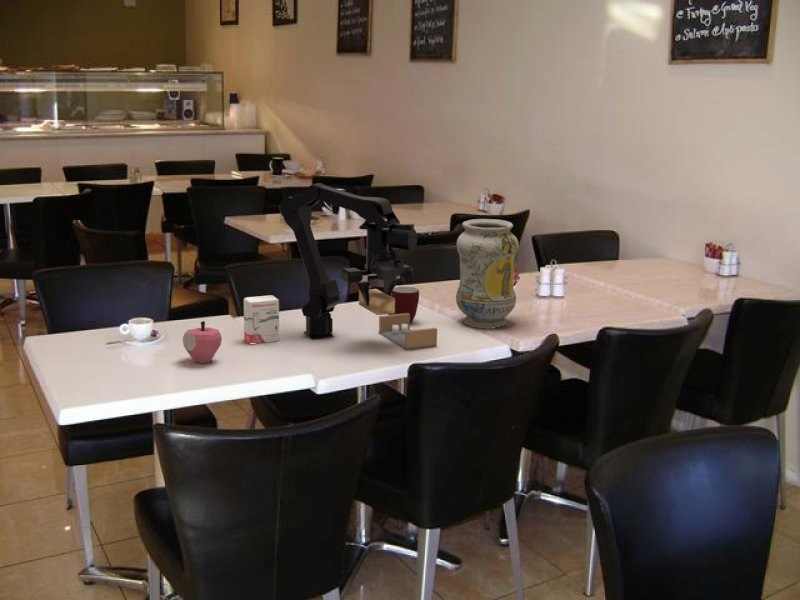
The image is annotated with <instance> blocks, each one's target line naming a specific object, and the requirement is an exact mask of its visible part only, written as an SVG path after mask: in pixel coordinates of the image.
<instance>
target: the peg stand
mask: <svg viewBox="0 0 800 600" xmlns="http://www.w3.org/2000/svg"><path fill="white" fill-rule="evenodd" d="M378 316H379V317H378V321H379V322H378V334H379V335H381V336H383V337H384V338H386V339H387V338H388V339H387V340H389V341H391V342H392V341H393V342H392V343H394V344H396V345H397V344H398V345H397V346H399V347H401V348H402V347H403V350H406V351H412V350H419V349H426V348H429V349H430V348H436V347H435V346H438V344H437V343H438V328H437V327H429V328H428V327H427V328H419V329H418V328H417V329H410V327H411V326H410V314H409V313H404V314H395V315H388V314H385V315H378Z"/></svg>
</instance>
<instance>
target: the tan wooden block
mask: <svg viewBox="0 0 800 600" xmlns="http://www.w3.org/2000/svg"><path fill="white" fill-rule="evenodd" d="M358 305H359V306H360V307H362V308H364V309H366V310H367V311H369V312H370V313H373V314H375V315H376V316H385V315H388V314H395V298H393V297H391V295H390V296H389V295H387V294H385V293H384V291H381V290H380V289H377V288H373V289H372V288H370V289H369V306H366V304H365V301H364V299H363V296H362V294H361V291H360V289H359V290H358Z"/></svg>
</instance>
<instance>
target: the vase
mask: <svg viewBox="0 0 800 600" xmlns="http://www.w3.org/2000/svg"><path fill="white" fill-rule="evenodd" d="M513 227H514V224H513V223H512V222H510V221H507V220H503V219H493V218H492V219H491V218H476V219H469V220H466V221H463V222H462V228H464V231H463V232H462V233H460V235H459V236H458V238H457V240H456V249H457V253H458V255H459V271H460V273H459V275H460V276H459V277H460V278H459V285H458V286H459V287H458V288H457V291H456V294H455V301H456V305H457V307H458V309H459V311H461V313H463V314H464V315H465V317H464V319H463V320H462V321H463V323H464V324H465V325H467V326H469V327H472V328H477V329H478V328H479V329H488V330H490V329H489V328H492V327H499V328H501V327H500V326H503V327H505V326H506V325H507V324H508V321H507V320H506V318H507V316H509V314H510V313H512V311H513V310H514V309H515V306H516V303H517V295H516V292H515V289H514V271H515V270H514V269H515V258H516V256H517V254H518V252H519V246H520V243H519V241H518V238H517V236H516V235H514V234H513V232H511V230H512V228H513ZM504 325H505V326H504ZM492 329H493V328H492Z"/></svg>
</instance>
